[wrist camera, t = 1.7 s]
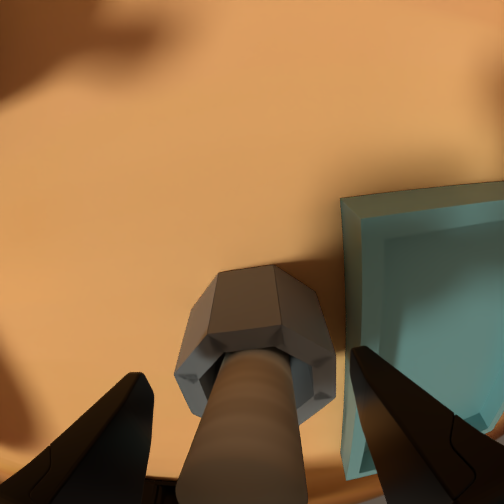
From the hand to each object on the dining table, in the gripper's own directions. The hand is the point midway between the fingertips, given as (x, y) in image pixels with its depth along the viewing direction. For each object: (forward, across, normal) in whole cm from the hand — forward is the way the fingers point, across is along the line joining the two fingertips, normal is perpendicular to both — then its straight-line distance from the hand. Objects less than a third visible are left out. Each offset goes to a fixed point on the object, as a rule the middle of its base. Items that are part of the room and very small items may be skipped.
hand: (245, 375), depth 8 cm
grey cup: (+6, 0, +2) cm, 6 cm away
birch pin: (+5, 0, +1) cm, 5 cm away
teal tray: (+6, -10, +6) cm, 13 cm away
